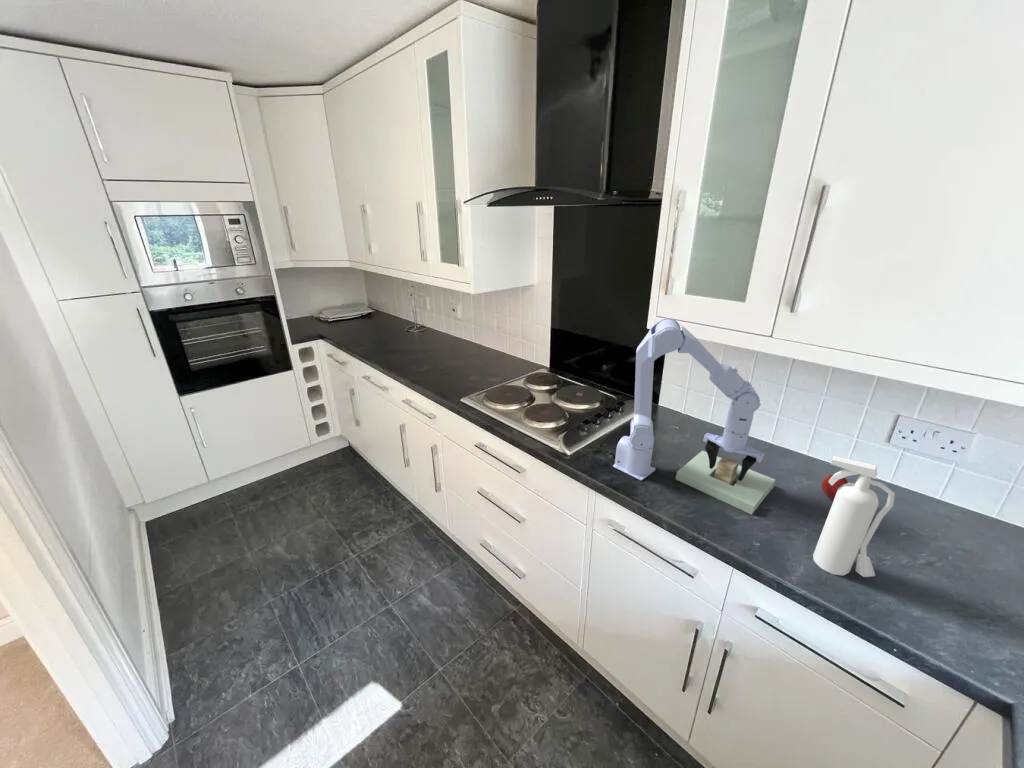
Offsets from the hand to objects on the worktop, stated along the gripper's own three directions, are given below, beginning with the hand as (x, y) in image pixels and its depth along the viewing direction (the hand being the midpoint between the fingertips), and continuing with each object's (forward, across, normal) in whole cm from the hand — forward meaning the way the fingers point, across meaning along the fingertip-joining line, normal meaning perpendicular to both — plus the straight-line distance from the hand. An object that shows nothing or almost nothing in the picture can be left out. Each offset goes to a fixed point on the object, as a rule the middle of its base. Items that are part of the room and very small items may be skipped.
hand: (726, 472), depth 115 cm
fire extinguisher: (+4, +28, -12) cm, 31 cm away
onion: (+4, +22, +14) cm, 26 cm away
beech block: (+3, 0, 0) cm, 4 cm away
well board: (+3, 0, 0) cm, 3 cm away
